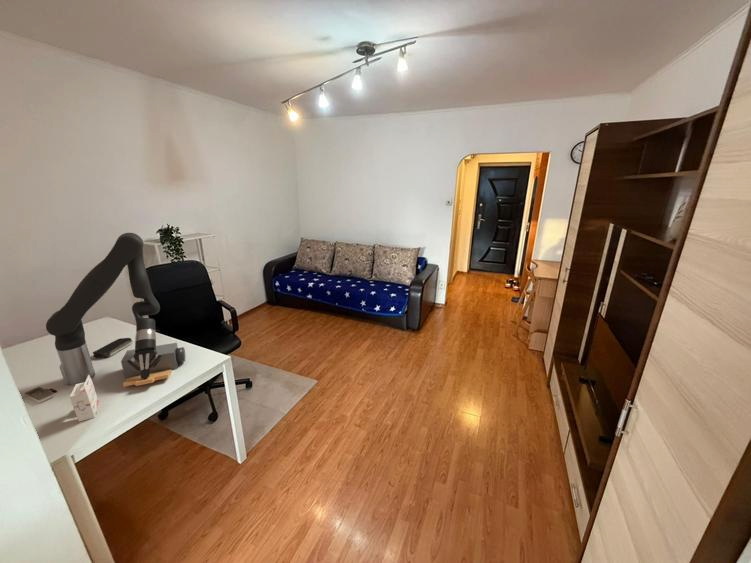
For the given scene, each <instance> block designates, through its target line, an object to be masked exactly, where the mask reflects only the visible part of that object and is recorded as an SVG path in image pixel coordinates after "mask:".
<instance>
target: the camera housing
mask: <svg viewBox="0 0 751 563" xmlns="http://www.w3.org/2000/svg"><path fill="white" fill-rule="evenodd" d="M156 352H157V354H159V355H162V356H163V358H162V359H161V360H160V361H159V363H158V364H157V365H156V366H155V367H154V368H151V369H150V373H155V372H161V371H166V370H171V369H172V371H173V370H178V366H179V363H182V362H186V349H185V347H184V346H182V347H178V342H173V343H166V344H160V345H156ZM134 354H135V348H134V349H129V350H127V349H126V352H125V354H124V355H123V357H122V359H121V360H120V362H121V367H122V370H123V374H124V379H126V380H127V379H128V378H130V377H134V376H139V375H141V371H138V370H136V369H135V368H134V367H133V366H131V365H130V364H129V363H128V362H127V361H128V360H131V359H132V358H133V356H134ZM155 357H156V356H155ZM155 359H156V358H154V359H153V360H152V361H151V364H152V363H153V361H154V360H155ZM135 361H136V362H135V364H136V365H137V366H138V367H140V363H139V362H138V361H137V360H136V359H135ZM145 366H146V364H145Z"/></svg>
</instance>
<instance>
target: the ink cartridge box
mask: <svg viewBox="0 0 751 563" xmlns="http://www.w3.org/2000/svg"><path fill="white" fill-rule="evenodd" d="M71 391H72V392H71V393H70V395H69V399H70V402H71V405H72V406H73V410H74V413H75V415H76V418H77V421H78V423H79V422H82V421H86V420H90V419H93V418H95V417H96V415H97V410H98V406H99V403H100V402H99V399H98V395H97V393H96V392H97V391H96V388H95V385H94V383H93V380H92V379H91V378H90V376H89V375H88V377H87V379H86V381H85V382H84V383H80V384H76V385H75V386H74V387H73V389H72V390H71Z"/></svg>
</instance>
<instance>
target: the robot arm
mask: <svg viewBox="0 0 751 563" xmlns="http://www.w3.org/2000/svg"><path fill="white" fill-rule="evenodd" d="M143 250H144V240H143V239H142V237H141V236H140V235H138V233H137V234H136V233H135V232H125V233H122V234H121V235H119V236H118V237H117V239H116V241H115V243H114V245H113V246H112V248H111V250H110V251H109V252H108V254H107V255H106V256H105V258H104V259H102V261H100V262H98V264H96V265H95V266H94V267H93V268H92V269H91V270H90V271H89V272H88V273H87V274H86V275H85V276H84V277H83V278H82V279H81V281H80V283H79V284H78V285H77V286H76V287H75V289H74V291H73V292H72V293H71V296H70V297H69V299H68V300H67V301H66V303H65V304H64V305H63V306H62V307H61V308H60V309H59V310H57V311H55V312H53V313H52V314H51V316H50V317H49V318H48V320H47V321H46V323H45V330H46V331H47V333H48V334H50V335H51V336H54V346H55V349H56V352H57V355H58V358H59V361H60V364H59V370H60V373H61V375H62V379H63V382H64V384H65V385H66V386H67V385H71V386H73V385H76V384H80V383H84V382H85V381H86V379H87V377H88V375H89V376H90V378H91V380H92V379H93V378H94V377H95V376H96V372H95V368H94V365H93V362H92V361H93V360H92V359H91V355H90V352H89V351H90V350H89V348H88V344H87V341H86V332H85V329H84V325H83V318H84V317H85V315H86V313H87V312H88V311H89V310H90V309H91V308H92V307H93V306H94V305H96V303H97V302H98V301H99V300H100V299H101V298H103V296H104V295H105V294H106V293H107V292H108V290H110V289H111V287H112V286H113V285H114V284H115V282H116V281H117V279H118V278H119V276H120V274H121V273H122V272H123V270H124V269H125V267H126V266H127V269H128V270H127V271H128V279H129V284H130V285H129V286H130V288H131V293H132V295H133V297H134V298H136V299H142V301H136V302H134V303H133V304H132V306H131V310H132V314H133V317H134V318H135V319H134V320H135V323H136V324H135V325H136V327H135V329H136V330H135V331H136V332H135V341H134V349H135V354H134V356H133V358H132V359H131V360H128V361H127V362H128V363H129V364H130V365H131V366H133V367H134V368H135V369H136V370H138V371H141V378H142V379H148V377H149V376H150V369H151V368H154V367H155V366H156V365H157V364H158V363H159V361H160V360H161V359H162V358H163V356H162V355H159V354H157V352H156V346H157V333H156V320H155V319H154V318H151V317H146V316H152V315H154V316H155V315H157V314H158V313H159V312H160V311H161V306H160V303H159V301H158V300H157V299H156V297H155V296H154V294H153V291H152V288H151V283H150V279H149V276H148V272H147V269H146V265H145V260H144V251H143ZM143 299H144V300H143ZM144 316H145V317H144ZM155 356H156V357H155ZM154 358H156V359H155V360H154V361H153V363H152V364H151V361H152V360H153V359H154ZM135 359H136V360H137V361H138V362H139V363H140V367H138V366H137V365H136V364H135V362H136V361H135ZM145 364H146V366H145ZM65 385H64V386H65Z"/></svg>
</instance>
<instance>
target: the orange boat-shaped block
mask: <svg viewBox="0 0 751 563" xmlns="http://www.w3.org/2000/svg"><path fill="white" fill-rule="evenodd" d="M172 371H173V370H172V369H171V370H166V371H161V372H155V373H150V376H149V377H148V379H142V378H141V375H139V376H134V377H130V378H126V380H124V382H122V386H123V388H125V387H129V386H133V385H135V387H138V386H142V385H148V384H152V383H154V382H155V381H158V380H165V379H168V378H169V377H170V376H171V375H172Z"/></svg>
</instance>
